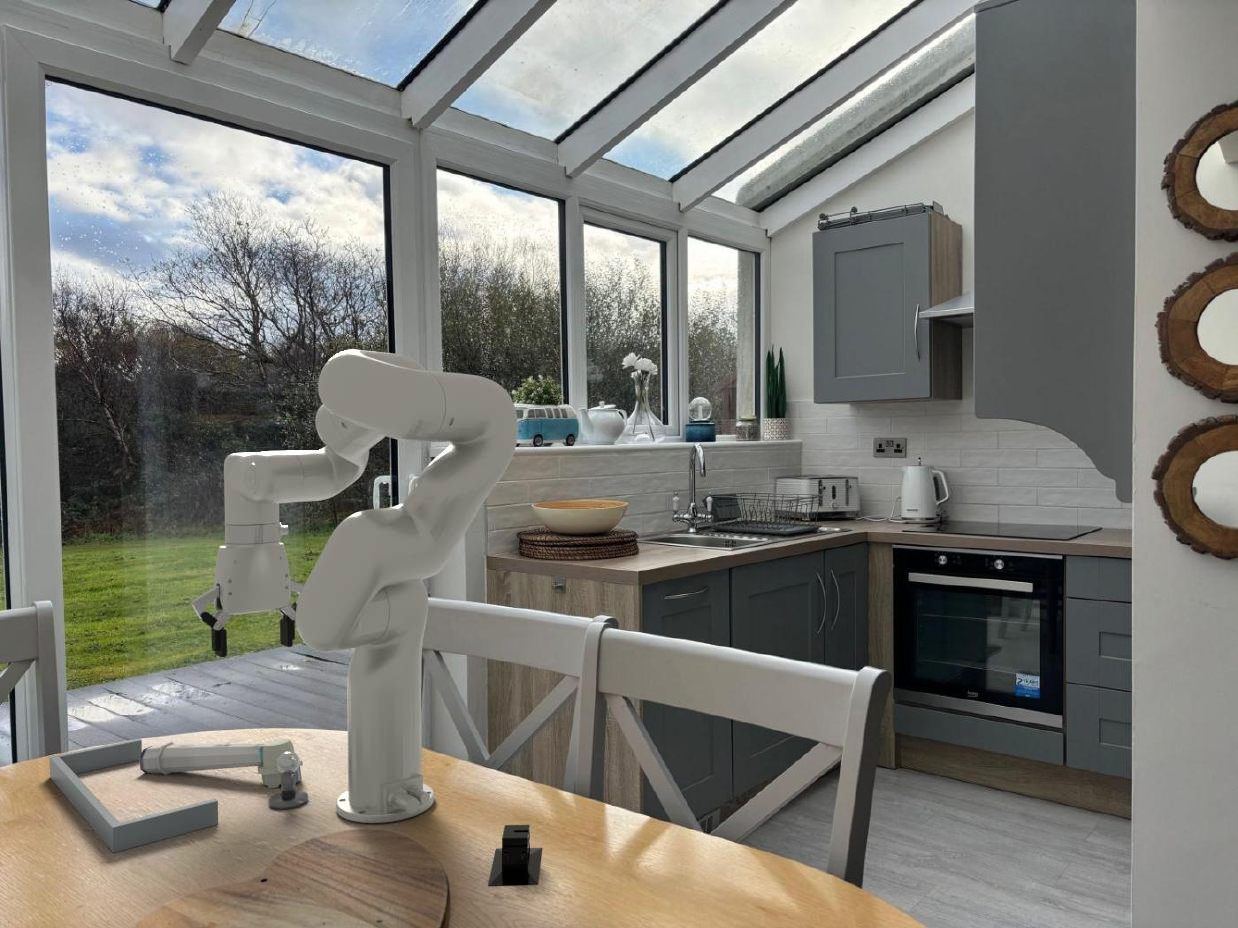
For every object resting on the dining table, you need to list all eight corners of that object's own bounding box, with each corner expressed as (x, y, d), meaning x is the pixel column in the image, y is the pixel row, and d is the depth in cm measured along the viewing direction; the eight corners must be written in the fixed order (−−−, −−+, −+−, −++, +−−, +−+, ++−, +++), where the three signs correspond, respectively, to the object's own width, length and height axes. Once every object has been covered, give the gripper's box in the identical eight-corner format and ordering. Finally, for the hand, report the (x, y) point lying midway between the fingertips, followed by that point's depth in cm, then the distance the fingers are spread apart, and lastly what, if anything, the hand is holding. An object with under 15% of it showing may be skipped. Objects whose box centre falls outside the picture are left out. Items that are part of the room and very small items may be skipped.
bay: (218, 824, 117) (217, 800, 117) (113, 852, 109) (112, 827, 109) (140, 757, 142) (139, 738, 142) (49, 777, 134) (49, 756, 134)
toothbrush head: (159, 739, 139) (305, 728, 133) (165, 783, 139) (312, 773, 133) (133, 751, 134) (284, 739, 128) (139, 796, 134) (291, 787, 128)
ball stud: (314, 802, 124) (313, 751, 124) (277, 812, 121) (276, 760, 120) (298, 792, 128) (298, 743, 127) (262, 801, 124) (262, 751, 124)
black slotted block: (545, 898, 99) (544, 855, 99) (476, 899, 99) (475, 856, 98) (549, 846, 111) (549, 808, 111) (488, 847, 111) (488, 809, 111)
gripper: (299, 530, 146) (301, 638, 146) (182, 538, 134) (185, 655, 135) (319, 533, 140) (321, 645, 140) (199, 541, 129) (201, 664, 129)
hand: (254, 650), depth 138 cm, fingers open, 9 cm apart
